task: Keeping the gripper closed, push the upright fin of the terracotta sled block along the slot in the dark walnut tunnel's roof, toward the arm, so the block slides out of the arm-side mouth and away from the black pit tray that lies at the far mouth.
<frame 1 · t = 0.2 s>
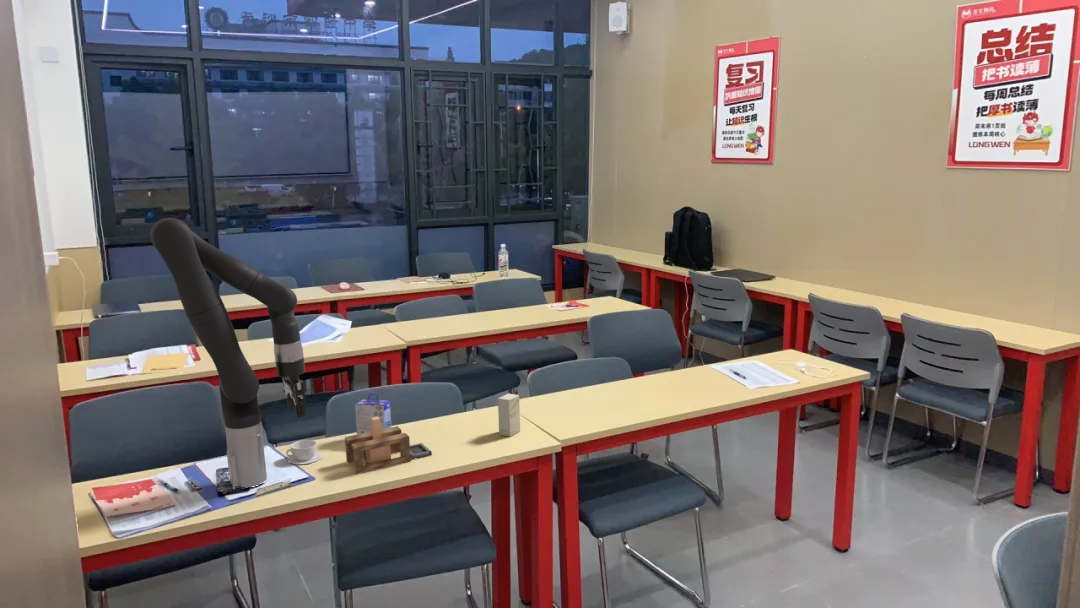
hand: (296, 412, 215), 17 cm above the table, tool pointing down, fingers open, 8 cm apart
ink cartridge box: (375, 439, 242), on the table
pit tray: (417, 453, 230), on the table
tunnel: (378, 461, 224), on the table
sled: (377, 439, 222), point 7 cm above the table, slide at 0.0 cm
skincare box: (509, 433, 244), on the table
teacup: (304, 459, 227), on the table
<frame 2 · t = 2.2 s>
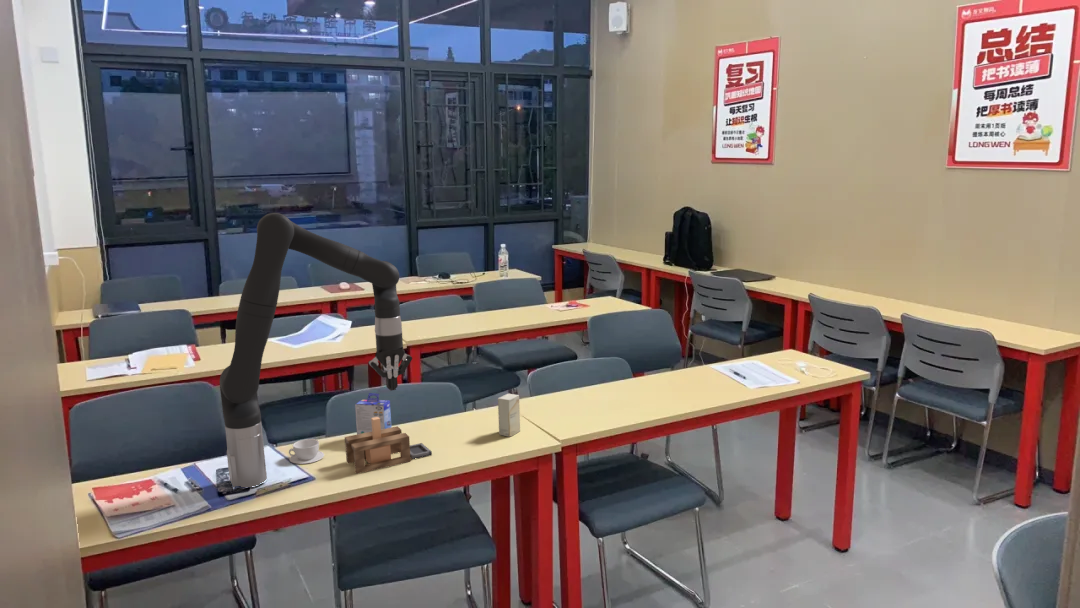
hand: (392, 389, 222), 21 cm above the table, tool pointing down, fingers closed
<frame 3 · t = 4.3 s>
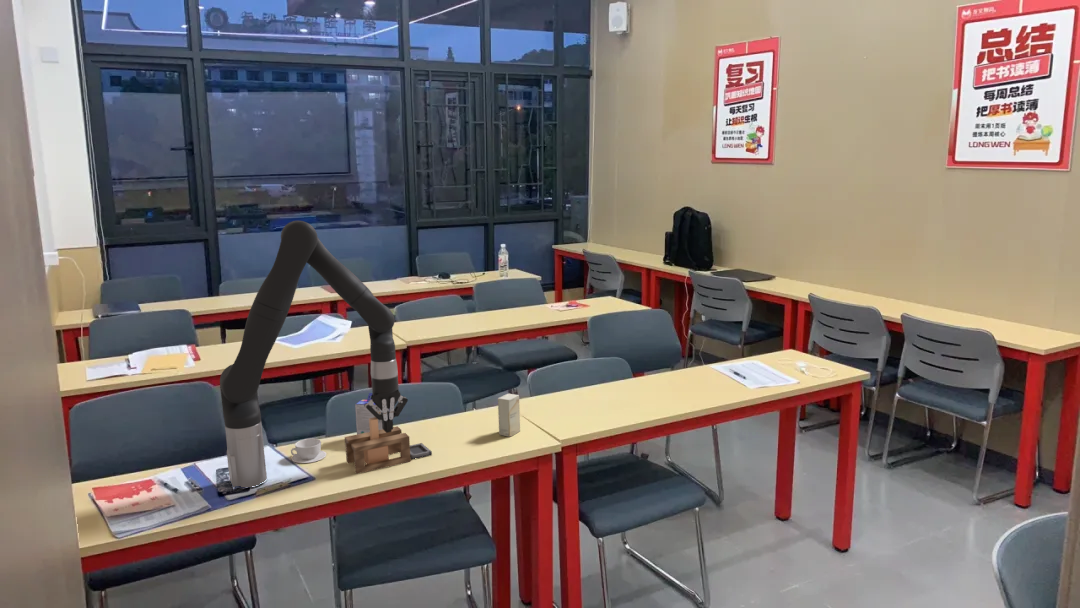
hand: (388, 431, 224), 9 cm above the table, tool pointing down, fingers closed
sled: (374, 440, 222), point 7 cm above the table, slide at 0.7 cm, touching gripper, hand
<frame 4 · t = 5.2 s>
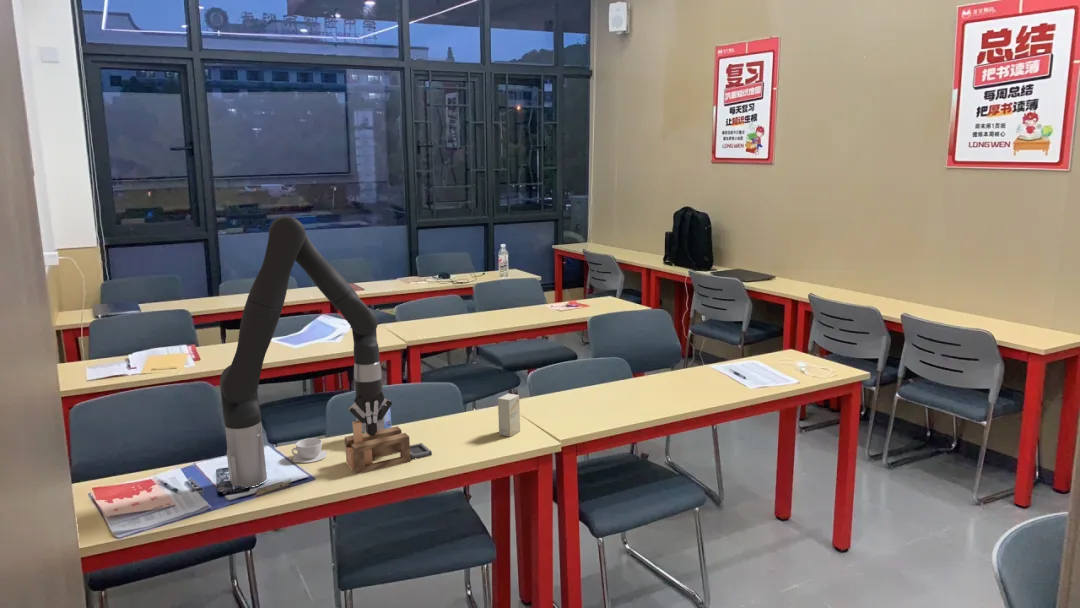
hand: (372, 434, 221), 9 cm above the table, tool pointing down, fingers closed
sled: (358, 443, 220), point 7 cm above the table, slide at 5.5 cm, touching gripper, hand
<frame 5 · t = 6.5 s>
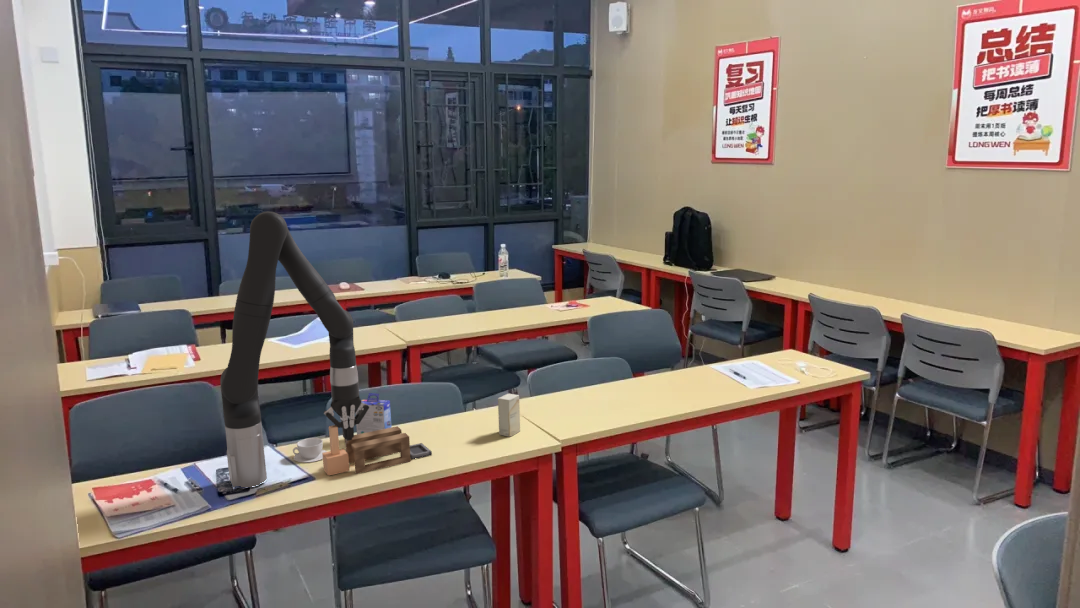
hand: (348, 439, 218), 9 cm above the table, tool pointing down, fingers closed
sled: (334, 448, 216), point 7 cm above the table, slide at 12.3 cm, touching gripper
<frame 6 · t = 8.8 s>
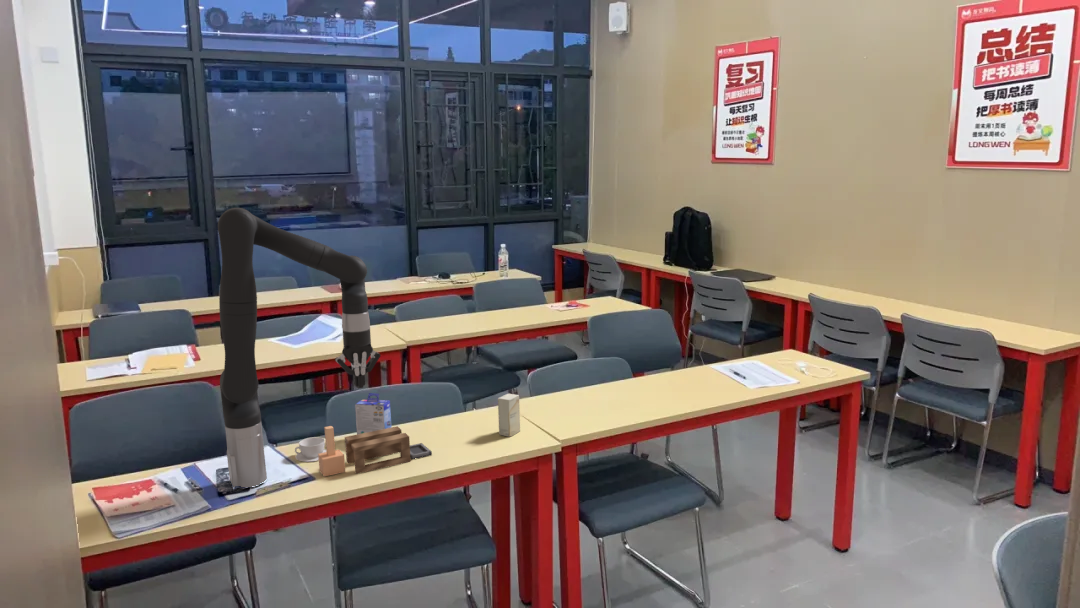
hand: (359, 387, 217), 23 cm above the table, tool pointing down, fingers closed
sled: (330, 449, 216), point 7 cm above the table, slide at 13.5 cm
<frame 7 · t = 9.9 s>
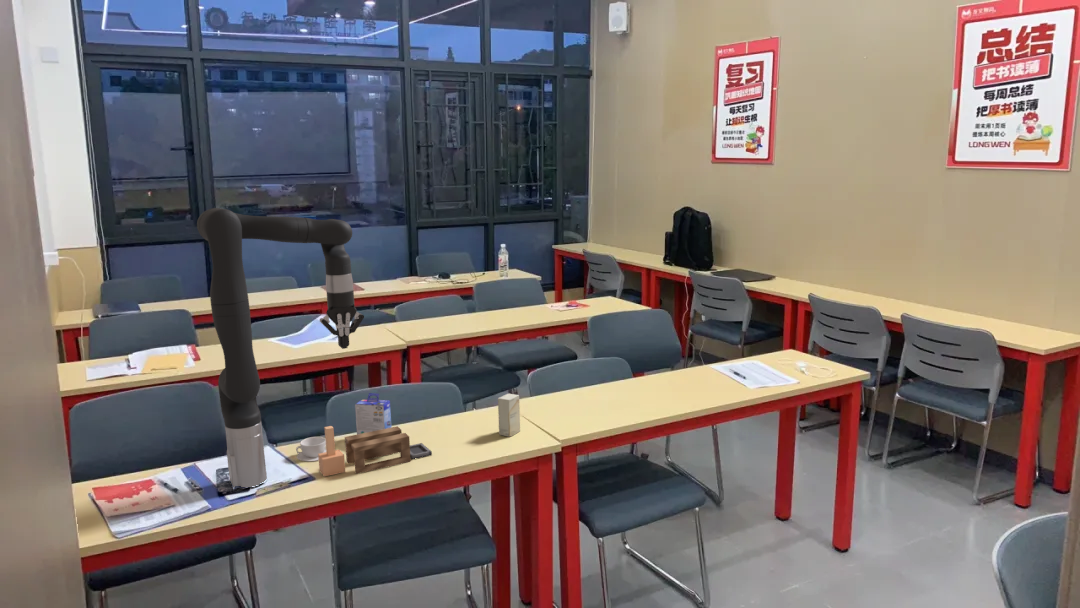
hand: (344, 347, 223), 33 cm above the table, tool pointing down, fingers closed
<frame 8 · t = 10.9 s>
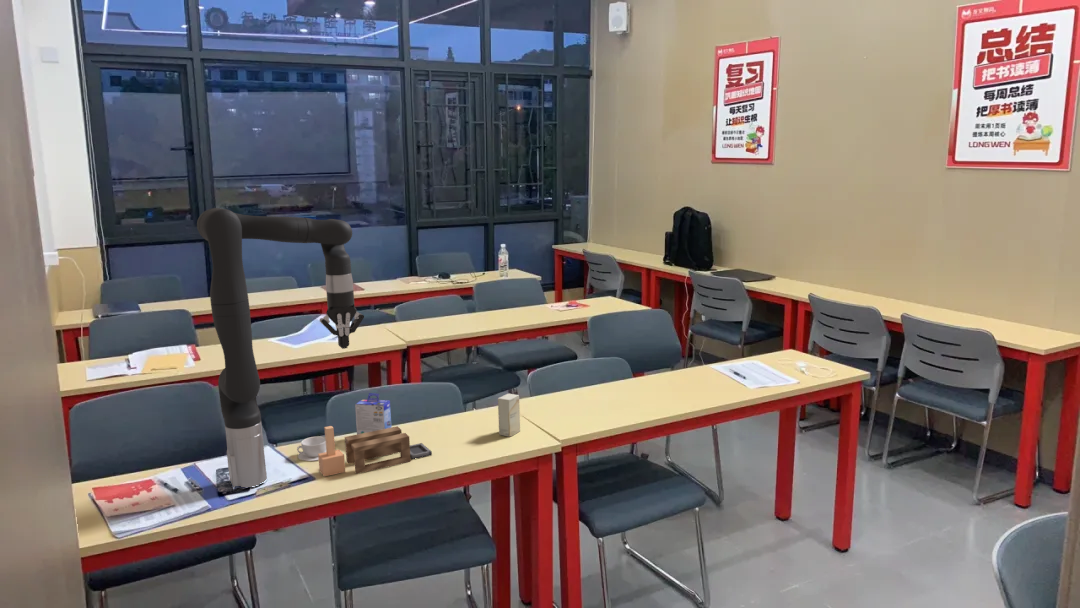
hand: (344, 347, 223), 33 cm above the table, tool pointing down, fingers closed
at the end: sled slide at 13.5 cm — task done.
